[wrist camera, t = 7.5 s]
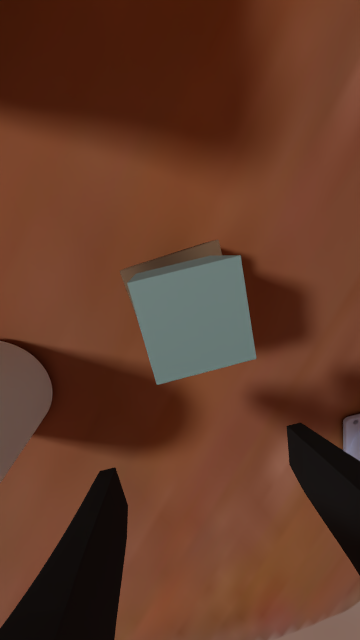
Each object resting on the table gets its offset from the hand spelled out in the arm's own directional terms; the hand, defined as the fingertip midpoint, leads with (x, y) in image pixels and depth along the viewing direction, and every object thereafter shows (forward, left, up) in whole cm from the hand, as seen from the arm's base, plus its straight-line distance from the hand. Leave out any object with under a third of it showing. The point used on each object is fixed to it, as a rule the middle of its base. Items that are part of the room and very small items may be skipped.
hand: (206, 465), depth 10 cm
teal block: (-1, -6, -7) cm, 9 cm away
